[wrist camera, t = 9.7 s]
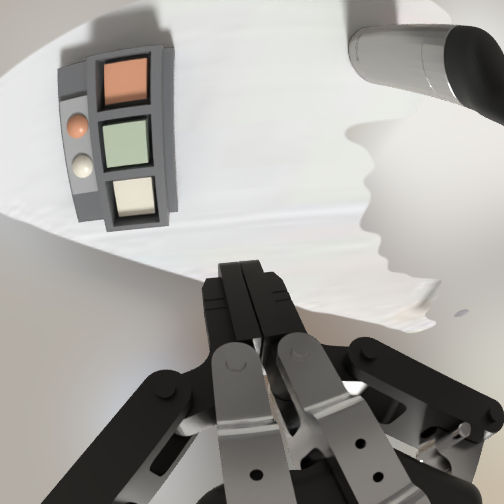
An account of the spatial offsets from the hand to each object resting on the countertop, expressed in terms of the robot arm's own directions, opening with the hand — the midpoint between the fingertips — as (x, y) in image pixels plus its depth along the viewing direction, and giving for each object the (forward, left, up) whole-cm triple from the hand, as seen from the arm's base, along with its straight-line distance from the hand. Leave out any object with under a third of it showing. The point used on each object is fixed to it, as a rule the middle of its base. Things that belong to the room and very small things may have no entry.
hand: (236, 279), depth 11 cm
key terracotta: (+8, -8, -24) cm, 27 cm away
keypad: (+10, -1, -27) cm, 29 cm away
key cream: (+8, +6, -24) cm, 26 cm away
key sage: (+8, -1, -23) cm, 24 cm away
